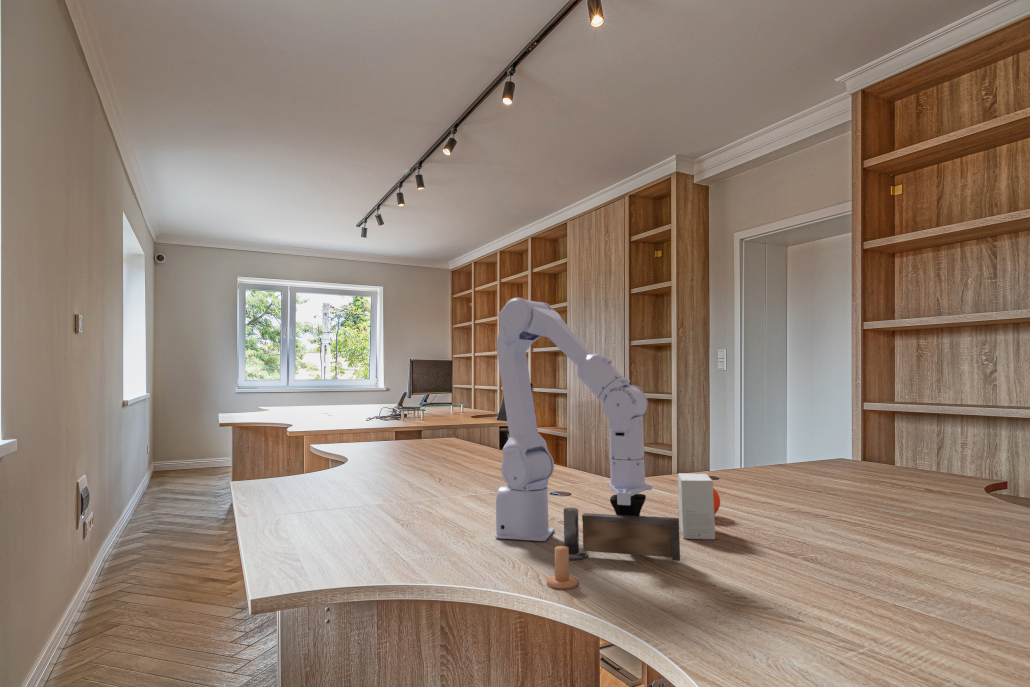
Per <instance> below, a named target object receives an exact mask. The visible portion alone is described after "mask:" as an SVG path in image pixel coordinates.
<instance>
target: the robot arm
mask: <svg viewBox="0 0 1030 687" xmlns="http://www.w3.org/2000/svg"><path fill="white" fill-rule="evenodd" d="M498 321H499V330H498V335H497V341H496V344H495V345H496V346H495V347H496V354H497V361H498V369H499V374H500V382H501V388H502V395H503V401H504V407H505V413H506V414H505V415H506V416H505V417H506V420H507V421H506V422H507V427H508V429H507V430H508V434H509V437H508V439H507V441H506V443H504V446H503V448H502V461H501V462H502V463H501V467H500V469H501V475H502V478H503V481H504V482H505V483H506V485H507V486H505V485H501V486H499V488H498V490H497V493H496V498H495V518H496V519H495V520H496V522H495V523H496V524H495V525H496V526H495V528H496V529H495V530H496V531H495V532H496V534H495V536H494V537H495V539H504V540H517V541H519V540H520V541H530V542H531V541H535V542H546V541H547V540H548V538H549V537H550V536H551V535H552V534H553V533H554V531H555V527H552V526H551V527H549V493H548V492H549V490H548V485H549V479H550V478H551V476H552V475H553V473H554V471H555V462H554V458H553V456H552V454H551V453H550V451H549V449H548V445H547V441H546V440H545V439H544V438H543V436H542V435H541V434H540V433H539V431H538V430H539V429H538V423H537V417H536V411H535V406H534V405H535V404H534V403H535V402H534V397H533V393H532V392H533V391H532V385H531V380H530V372H529V368H528V367H529V365H528V360H527V351H528V350H529V348H531V346H532V344H533V343H535V342H536V341H537V340H538V339H540V338H541V337H545V338H548V339H549V340H550V341H551V342H552V343H553V344H554V345H556V347H557V348H558V349H559V350H560V351H561V352H562V353H563V354H564V355H565V356H567V357H568V358H569V359H570V361H571V362H572V363H573V364H575V365H576V368H577V377H578V378H579V379H580V381H581V382H582V383H583V384H584V385H585V386H586V387H587V389H589V390H590V391H591V393H592V394H593V395H594V396H595V397H596V398H597V399H598V401H600V402H601V403H602V404H601V408H602V411H603V413H604V415H605V417H607V419H608V422H609V424H608V426H609V427H608V429H609V430H608V431H609V432H608V433H609V435H608V436H609V467H610V468H609V470H610V471H609V472H610V473H609V474H610V483H609V490H610V491H612V492H613V493H614V494H613V495H611V496H610V497H609V498H610V499H609V502H610V504H611V506H612V508H613V510H614V512H615V515H629V516H641V511H642V510H643V506H644V505H645V502H646V499H647V496H646V494H642V493H643V492H644V491H652V490H653V484H652V483H646V474H645V473H646V472H645V471H646V470H645V468H646V467H645V439H644V438H645V437H644V436H645V434H644V416H643V415H644V414H645V413H646V412H647V409H648V403H649V401H648V398H647V396H646V394H645V392H644V391H643V389H642V388H641V387H640V386H637V385H634V384H633V385H632V384H630V382H631V380H630V379H629V378H628V377H627V376H626V377H624V376H623V375H622V374H621V373H620V372H619V371H618V370H617V369H616V368H615V367H614V366H613V365H612V362H613V360H612V358H610V357H609V356H608V355H607V356H604V355H603V354H602V353H601V354H600V353H591V351H590V350H589V349H588V348H587V347H586V345H585V344H584V343H583V342H582V341H581V340H580V339H579V337H578V336H577V335H576V334H575V333H574V332H573V330H572V329H571V328H570V326H569V325H568V324H567V323H566V321H564V320H563V319H562V317H561V315H560V313H559V312H557V311H556V310H554V309H553V308H552V306H551V305H550V304H549V303H547V302H543V301H534V300H529V299H524V298H522V297H513V298H511V299H509V300H508V301H506V303H505V305H503V307H502V308H501V310H500V311H499V313H498Z"/></svg>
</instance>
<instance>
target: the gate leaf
mask: <svg viewBox="0 0 1030 687" xmlns="http://www.w3.org/2000/svg"><path fill="white" fill-rule="evenodd" d="M581 521H582V549H583V551H587V552H591V553H593V552H594V553H605V554H620V555H621V554H623V555H631V556H632V555H634V556H647V557H648V556H649V557H660V558H661V557H662V558H671V560H672V561H676V562H680V561H681V546H680V542H681V541H680V518H679V517H666V516H665V517H663V516H662V517H661V516H644V515H643V516H642V515H640V516H629V515H616V514H610V513H609V514H607V513H591V512H590V513H588V512H587V513H586V512H584V513H583V514H581Z"/></svg>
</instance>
